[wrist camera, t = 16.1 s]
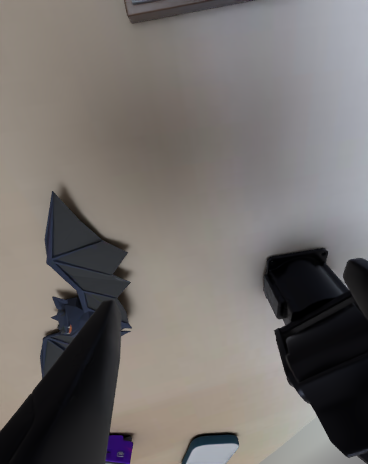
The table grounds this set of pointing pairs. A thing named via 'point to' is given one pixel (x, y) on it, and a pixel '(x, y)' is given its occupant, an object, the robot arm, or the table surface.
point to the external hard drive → (211, 449)
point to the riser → (169, 7)
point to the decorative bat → (78, 277)
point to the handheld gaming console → (119, 450)
